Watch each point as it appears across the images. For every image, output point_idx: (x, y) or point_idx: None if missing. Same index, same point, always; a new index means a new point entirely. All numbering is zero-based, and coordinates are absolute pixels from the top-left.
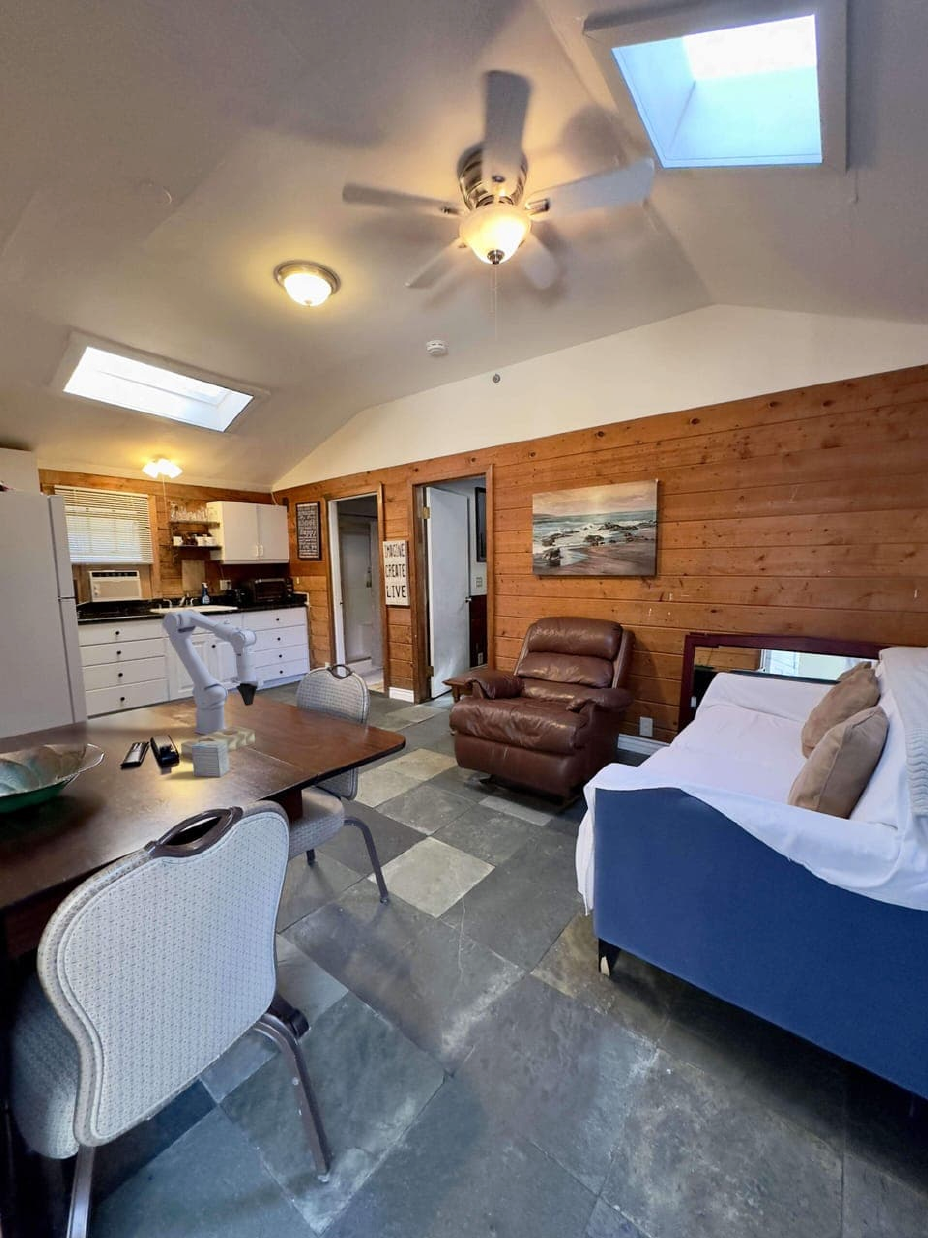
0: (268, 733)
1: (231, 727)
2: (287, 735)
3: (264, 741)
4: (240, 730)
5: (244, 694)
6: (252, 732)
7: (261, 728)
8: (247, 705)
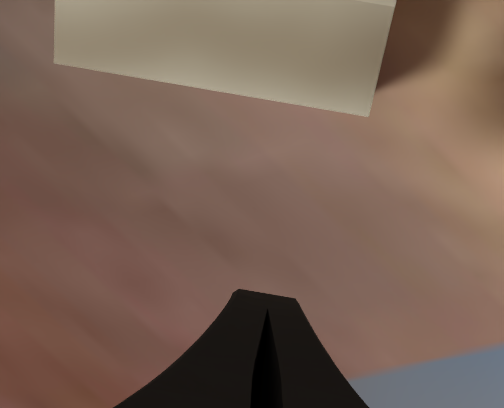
0: (164, 250)
1: (361, 59)
2: (2, 257)
3: (51, 104)
4: (188, 15)
5: (205, 399)
6: (61, 43)
7: None
8: (234, 292)
